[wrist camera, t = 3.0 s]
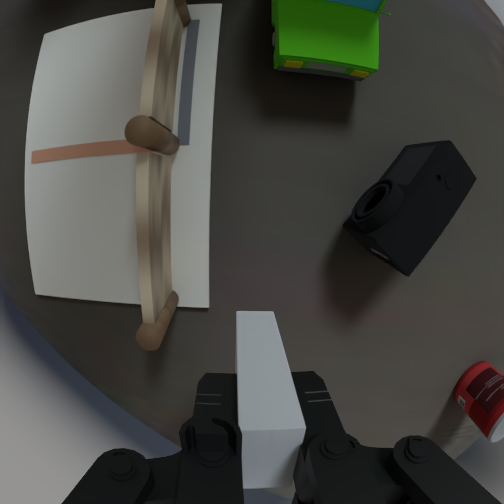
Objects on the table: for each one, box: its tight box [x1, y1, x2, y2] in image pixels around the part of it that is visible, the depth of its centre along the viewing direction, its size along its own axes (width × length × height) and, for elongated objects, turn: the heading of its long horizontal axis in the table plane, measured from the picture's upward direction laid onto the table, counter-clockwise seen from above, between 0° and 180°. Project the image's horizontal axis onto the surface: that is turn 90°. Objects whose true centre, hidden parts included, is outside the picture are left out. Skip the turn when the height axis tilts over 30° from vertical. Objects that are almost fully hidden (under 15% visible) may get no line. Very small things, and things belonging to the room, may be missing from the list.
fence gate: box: [135, 152, 179, 351], centre depth 21 cm, size 13×2×7 cm, turn 178°
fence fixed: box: [124, 0, 191, 155], centre depth 17 cm, size 14×2×8 cm, turn 178°
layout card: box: [25, 4, 222, 308], centre depth 23 cm, size 28×19×1 cm
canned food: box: [454, 361, 504, 443], centre depth 27 cm, size 8×8×11 cm
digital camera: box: [343, 140, 476, 277], centre depth 22 cm, size 10×5×7 cm, turn 140°
